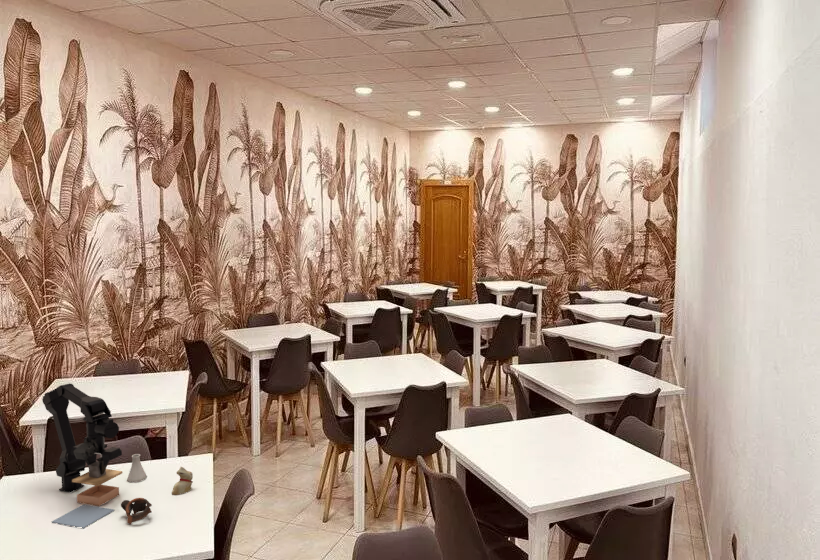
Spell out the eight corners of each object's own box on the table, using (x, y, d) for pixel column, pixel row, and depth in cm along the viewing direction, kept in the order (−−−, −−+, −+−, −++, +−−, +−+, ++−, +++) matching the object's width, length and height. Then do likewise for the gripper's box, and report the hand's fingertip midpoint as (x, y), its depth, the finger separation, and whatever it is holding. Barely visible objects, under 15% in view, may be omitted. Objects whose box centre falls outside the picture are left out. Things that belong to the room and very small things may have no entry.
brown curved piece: (159, 513, 224) (157, 499, 219) (142, 535, 216) (140, 521, 211) (129, 502, 226) (126, 488, 221) (112, 524, 218) (109, 510, 213)
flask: (139, 483, 248) (138, 459, 247) (123, 482, 249) (122, 458, 248) (150, 476, 255) (149, 452, 254) (134, 475, 256) (133, 451, 255)
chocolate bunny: (193, 492, 240) (192, 467, 239) (171, 495, 237) (170, 470, 236) (192, 486, 245) (192, 462, 244) (171, 490, 242) (170, 465, 241)
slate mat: (51, 522, 216) (51, 521, 215) (83, 505, 229) (83, 504, 229) (83, 528, 211) (83, 527, 211) (114, 510, 225) (114, 509, 225)
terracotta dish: (77, 502, 231) (76, 494, 231) (98, 491, 240) (97, 483, 240) (98, 506, 228) (98, 498, 228) (119, 494, 237) (118, 487, 237)
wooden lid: (72, 481, 229) (71, 468, 229) (97, 469, 241) (96, 456, 240) (98, 485, 226) (97, 471, 225) (122, 473, 237) (121, 459, 237)
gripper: (57, 437, 227) (60, 479, 228) (98, 443, 221) (100, 485, 223) (82, 428, 237) (84, 467, 239) (121, 432, 232) (123, 473, 233)
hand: (97, 473), depth 233 cm, fingers closed on wooden lid, 4 cm apart
